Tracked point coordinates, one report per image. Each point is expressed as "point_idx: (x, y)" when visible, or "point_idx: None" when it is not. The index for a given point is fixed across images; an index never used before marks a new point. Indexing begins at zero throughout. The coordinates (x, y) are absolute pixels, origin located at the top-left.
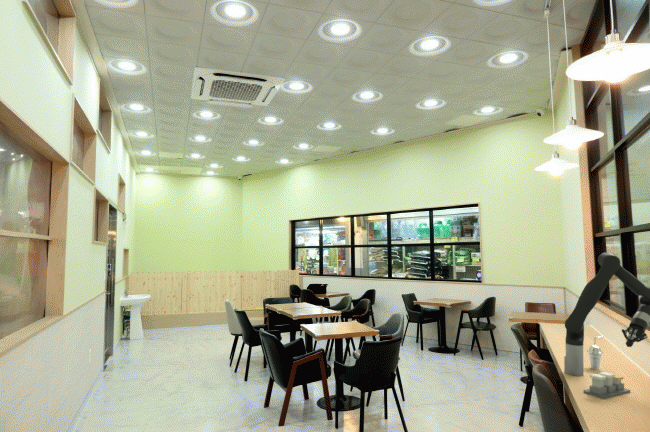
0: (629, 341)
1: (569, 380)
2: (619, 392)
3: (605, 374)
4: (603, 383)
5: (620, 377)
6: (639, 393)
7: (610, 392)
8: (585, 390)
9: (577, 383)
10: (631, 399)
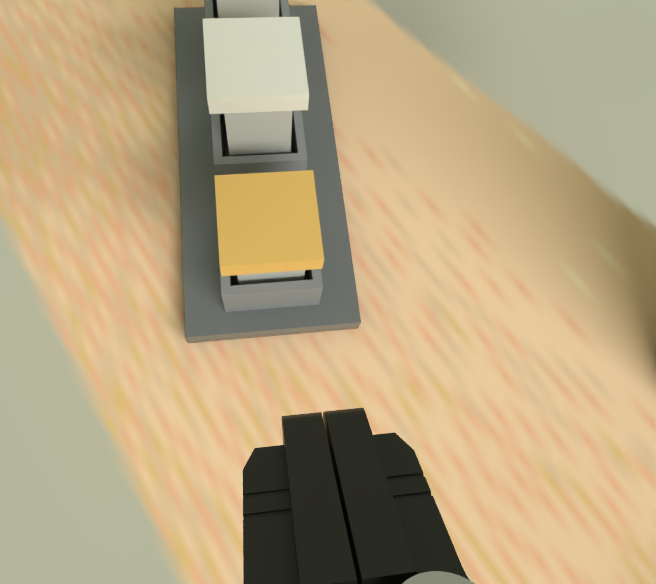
0: (322, 493)
1: (559, 161)
2: (182, 185)
3: (242, 24)
4: (218, 16)
5: (217, 216)
6: (137, 398)
7: (211, 123)
8: (307, 11)
9: (485, 152)
10: (83, 182)
